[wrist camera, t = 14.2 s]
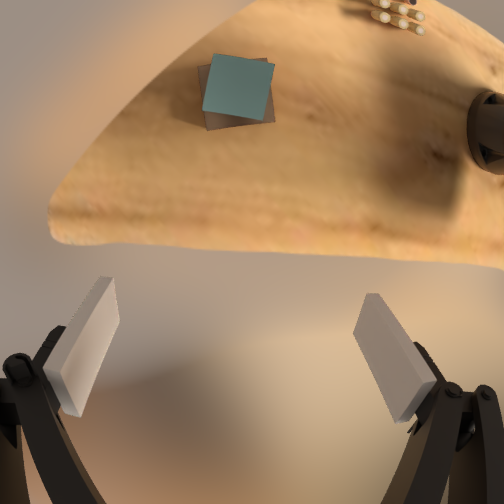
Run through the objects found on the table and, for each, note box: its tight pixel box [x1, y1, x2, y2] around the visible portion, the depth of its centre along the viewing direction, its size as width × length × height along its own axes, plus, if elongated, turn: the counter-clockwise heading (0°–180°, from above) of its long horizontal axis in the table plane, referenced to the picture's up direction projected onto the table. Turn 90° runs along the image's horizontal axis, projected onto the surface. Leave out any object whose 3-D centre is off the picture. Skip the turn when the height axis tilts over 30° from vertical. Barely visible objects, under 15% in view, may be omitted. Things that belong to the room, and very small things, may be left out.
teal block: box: [202, 54, 275, 121], centre depth 27 cm, size 5×5×11 cm
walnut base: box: [198, 58, 275, 131], centre depth 34 cm, size 8×8×5 cm
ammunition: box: [371, 0, 425, 36], centre depth 29 cm, size 5×7×8 cm
